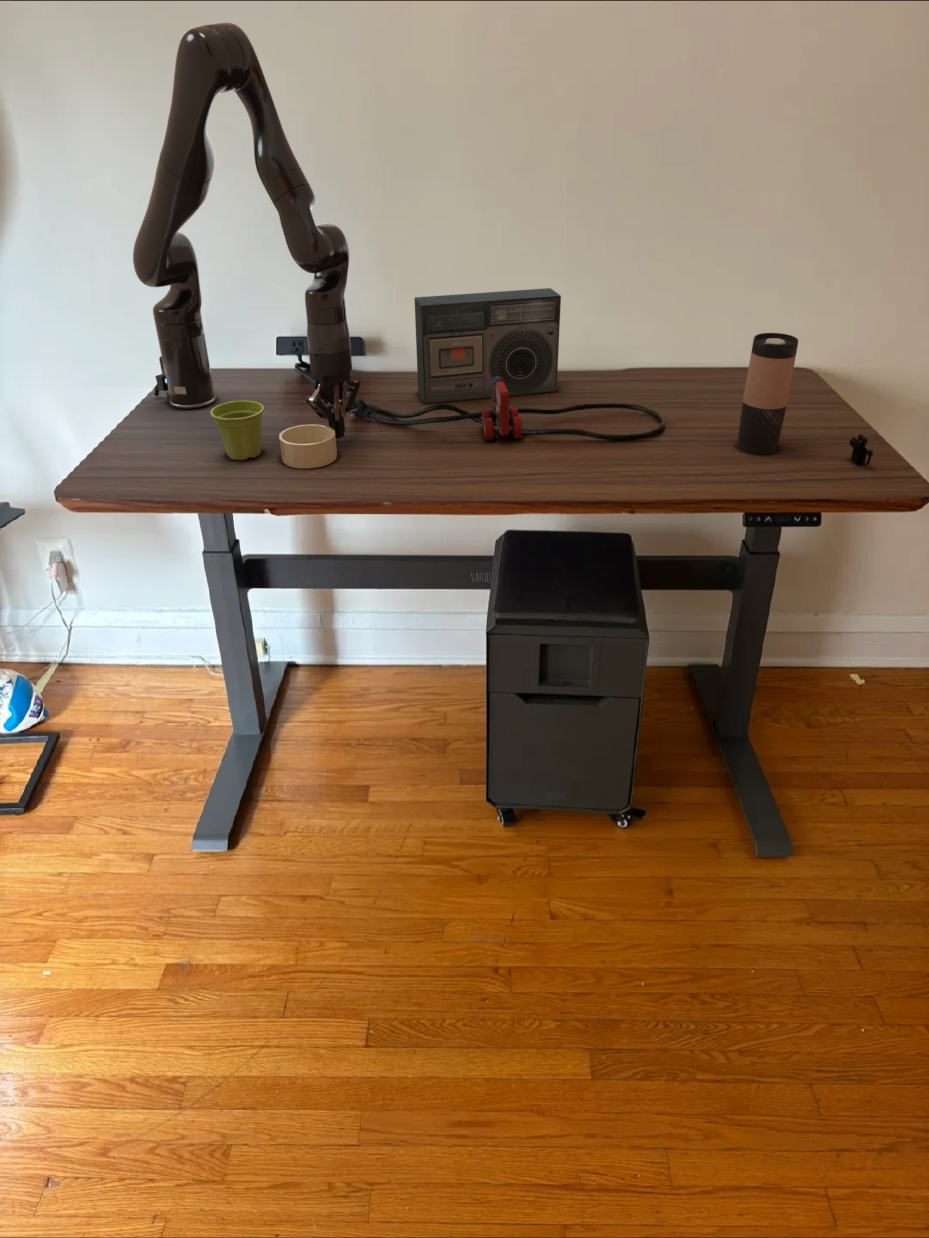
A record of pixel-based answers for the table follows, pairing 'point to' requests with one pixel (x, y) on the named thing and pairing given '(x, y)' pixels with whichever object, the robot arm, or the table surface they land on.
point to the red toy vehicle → (501, 414)
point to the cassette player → (487, 343)
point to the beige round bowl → (308, 446)
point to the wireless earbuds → (860, 450)
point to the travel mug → (766, 392)
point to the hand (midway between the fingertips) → (337, 437)
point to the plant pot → (240, 428)
